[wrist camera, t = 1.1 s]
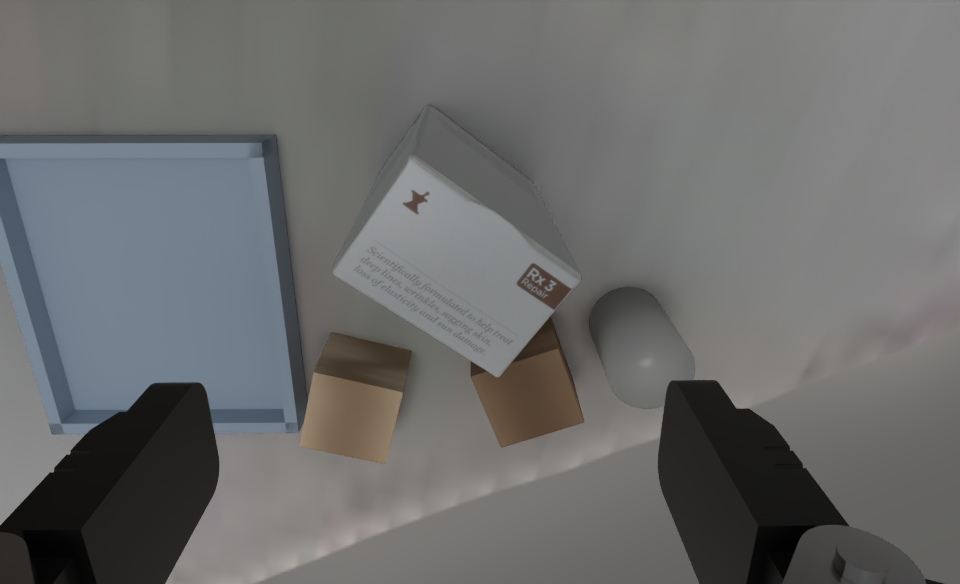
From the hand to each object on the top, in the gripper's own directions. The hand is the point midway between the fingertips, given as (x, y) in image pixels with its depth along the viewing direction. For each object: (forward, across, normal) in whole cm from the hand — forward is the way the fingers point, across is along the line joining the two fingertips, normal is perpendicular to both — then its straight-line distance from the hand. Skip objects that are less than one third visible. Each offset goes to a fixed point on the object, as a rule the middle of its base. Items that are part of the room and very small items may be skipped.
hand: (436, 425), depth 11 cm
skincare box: (+19, 0, 0) cm, 19 cm away
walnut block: (+19, -3, +9) cm, 22 cm away
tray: (+19, +14, +5) cm, 24 cm away
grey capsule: (+19, -8, +7) cm, 22 cm away
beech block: (+19, +5, +10) cm, 22 cm away
